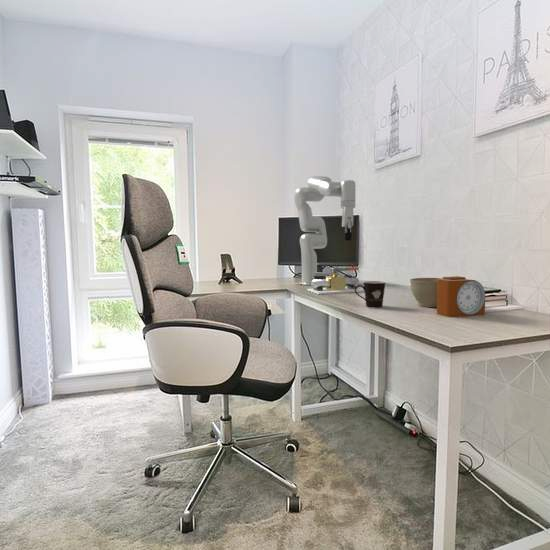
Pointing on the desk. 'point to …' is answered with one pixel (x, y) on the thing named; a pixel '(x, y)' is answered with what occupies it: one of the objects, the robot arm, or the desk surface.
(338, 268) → the valve lever
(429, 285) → the planter bowl
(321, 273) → the electrical switch
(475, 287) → the alarm clock
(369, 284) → the coffee mug
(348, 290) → the board
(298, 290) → the desk surface
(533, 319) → the desk surface
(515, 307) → the desk surface
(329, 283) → the valve pipe
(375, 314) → the desk surface
